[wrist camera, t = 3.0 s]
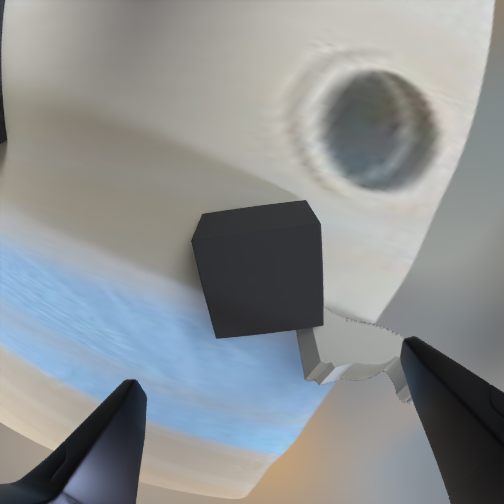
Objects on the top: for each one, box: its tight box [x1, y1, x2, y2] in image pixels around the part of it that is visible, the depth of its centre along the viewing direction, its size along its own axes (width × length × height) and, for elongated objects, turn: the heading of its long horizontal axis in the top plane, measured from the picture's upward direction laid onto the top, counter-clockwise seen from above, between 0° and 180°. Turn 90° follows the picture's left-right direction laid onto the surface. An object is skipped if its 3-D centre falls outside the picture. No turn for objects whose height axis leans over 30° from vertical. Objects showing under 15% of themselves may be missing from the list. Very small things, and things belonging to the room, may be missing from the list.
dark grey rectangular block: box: [191, 200, 324, 339], centre depth 15 cm, size 5×5×4 cm
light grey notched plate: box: [296, 307, 414, 404], centre depth 17 cm, size 6×1×10 cm
